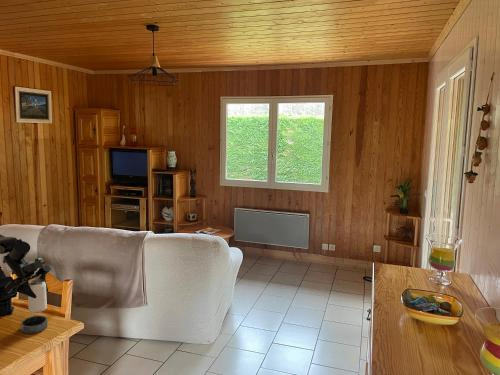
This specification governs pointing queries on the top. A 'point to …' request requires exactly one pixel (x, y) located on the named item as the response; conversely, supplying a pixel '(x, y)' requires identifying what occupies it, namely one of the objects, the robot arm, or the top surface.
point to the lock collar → (34, 324)
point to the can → (40, 291)
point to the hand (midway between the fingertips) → (41, 294)
